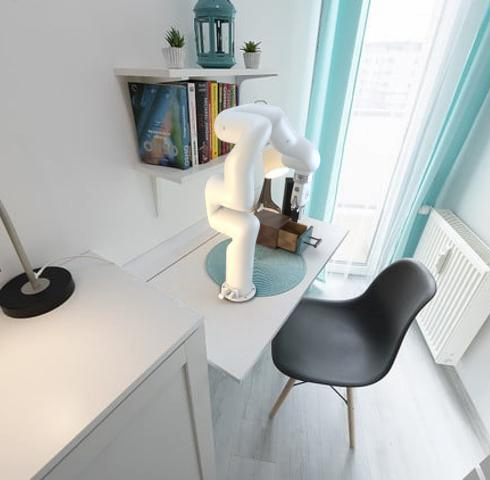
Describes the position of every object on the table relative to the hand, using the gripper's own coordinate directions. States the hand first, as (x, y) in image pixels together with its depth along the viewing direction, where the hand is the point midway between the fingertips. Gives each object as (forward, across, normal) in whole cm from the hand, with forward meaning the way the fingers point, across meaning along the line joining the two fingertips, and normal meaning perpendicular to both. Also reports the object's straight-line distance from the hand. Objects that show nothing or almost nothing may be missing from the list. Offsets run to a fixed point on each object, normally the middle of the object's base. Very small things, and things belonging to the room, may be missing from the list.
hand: (297, 216), depth 127 cm
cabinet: (+15, 0, +13) cm, 20 cm away
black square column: (+16, +19, +11) cm, 27 cm away
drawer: (+14, 0, -2) cm, 14 cm away
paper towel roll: (+1, 0, 0) cm, 1 cm away
